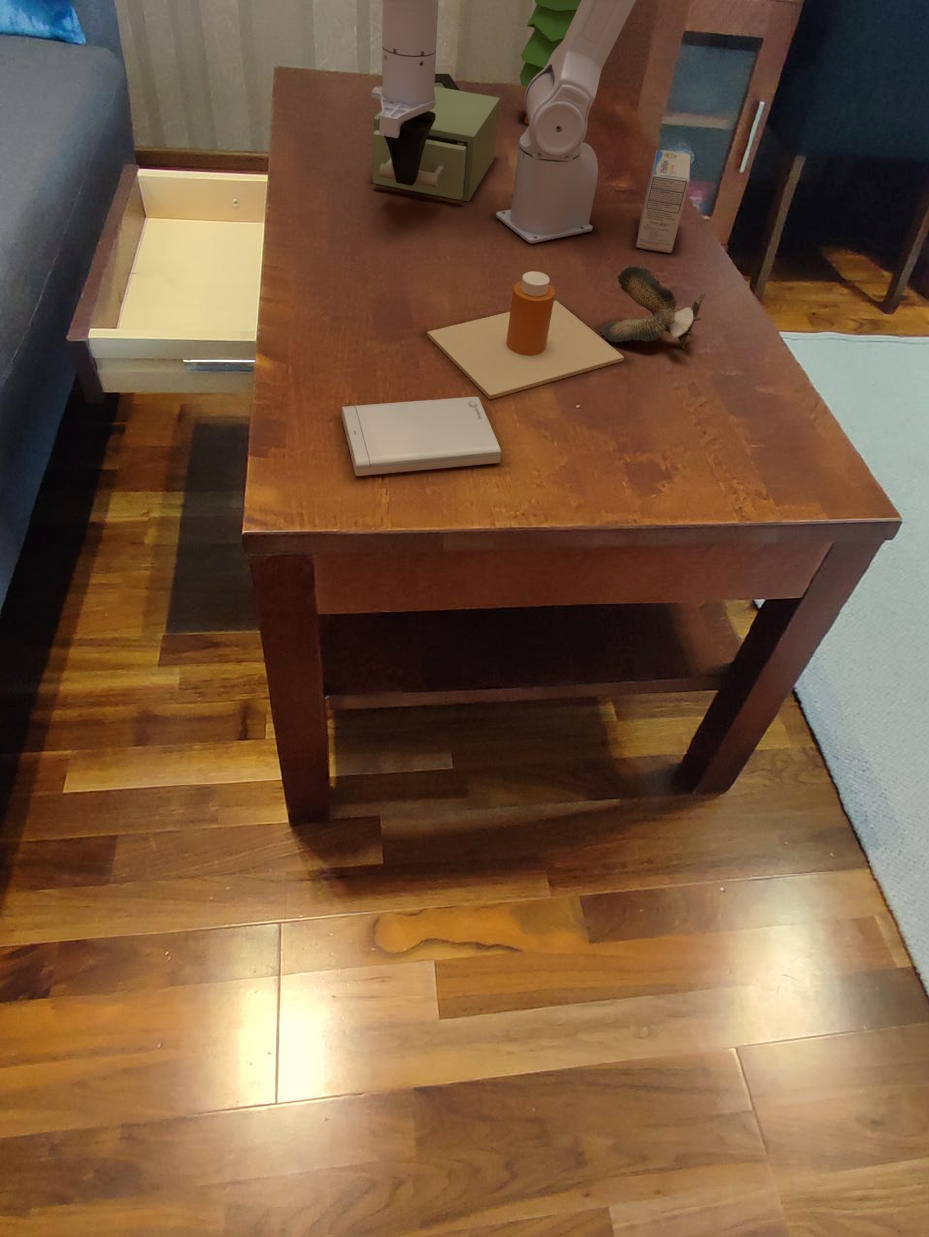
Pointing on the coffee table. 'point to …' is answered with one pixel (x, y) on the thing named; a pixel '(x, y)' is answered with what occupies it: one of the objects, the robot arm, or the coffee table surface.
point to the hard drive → (419, 435)
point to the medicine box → (664, 201)
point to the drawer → (426, 167)
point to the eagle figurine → (658, 302)
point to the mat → (505, 371)
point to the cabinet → (466, 129)
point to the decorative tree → (546, 35)
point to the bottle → (530, 314)
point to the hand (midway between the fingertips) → (405, 182)
